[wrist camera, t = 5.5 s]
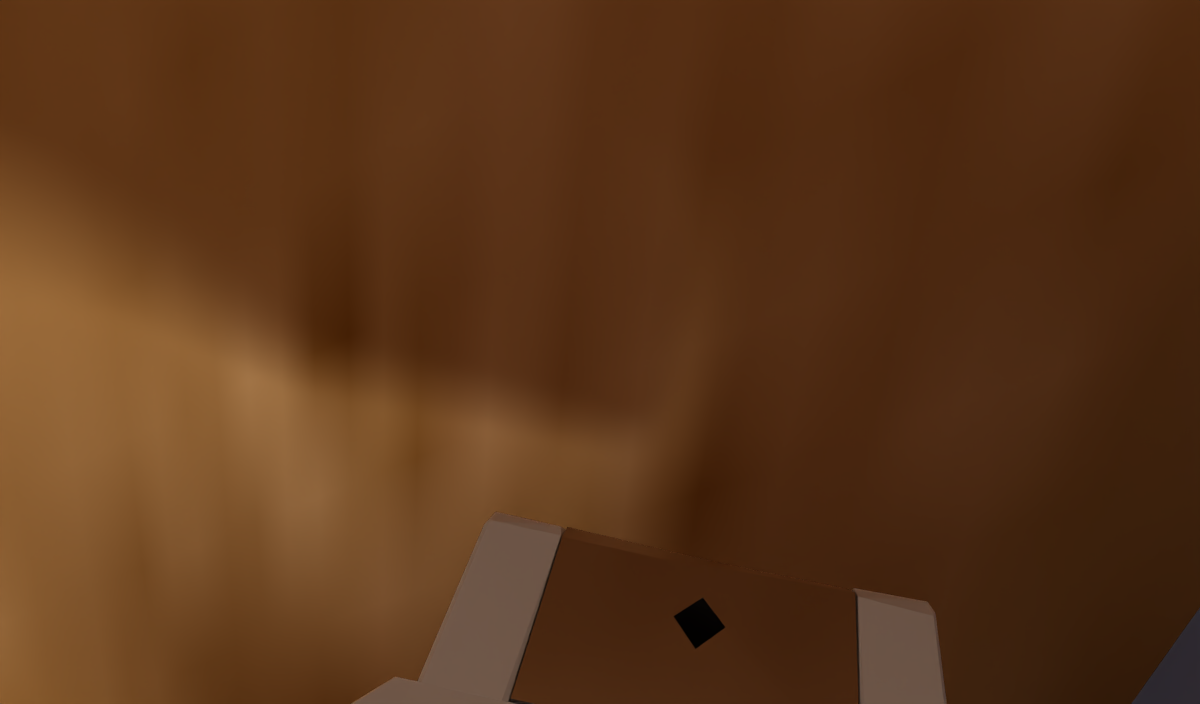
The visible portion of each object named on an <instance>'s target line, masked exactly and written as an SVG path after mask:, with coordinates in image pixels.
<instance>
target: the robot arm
mask: <svg viewBox="0 0 1200 704" xmlns="http://www.w3.org/2000/svg"><path fill="white" fill-rule="evenodd" d="M351 704H947V701H946V693H945V685H944V677H943V669H942V661H941V653H940V645H939V637H938V629H937V621H936V613H935V612H934V610H933V609H932V607H931V606H930V604H929V603H928V602H927V601H921V600H916V599H910V598H905V597H900V596H894V595H889V594H884V593H878V592H873V591H868V590H862V589H857V588H853V589H852V591H851V590H849V589H847V588H842V587H837V586H832V585H827V584H823V583H818V582H813V581H808V580H803V579H798V578H793V577H788V576H783V575H778V574H773V573H768V572H764V571H759V570H754V569H749V568H744V567H739V566H734V565H729V564H724V563H719V562H714V561H710V560H707V559H703V558H698V557H694V556H690V555H686V554H681V553H677V552H673V551H668V550H664V549H660V548H655V547H651V546H647V545H643V544H638V543H634V542H630V541H625V540H621V539H617V538H613V537H608V536H604V535H600V534H595V533H591V532H587V531H582V530H578V529H574V528H570V527H567V529H566V530H565V529H564V528H562V527H561V526H557V525H552V524H548V523H543V522H539V521H535V520H530V519H526V518H521V517H517V516H512V515H508V514H504V513H499V512H495V513H494V514H493V515H492V516H491V517H490V518H489V519H488V520H487V522H486V523H485V524H484V526H483V528H482V531H481V533H480V535H479V538H478V540H477V542H476V545H475V547H474V549H473V552H472V554H471V556H470V559H469V561H468V563H467V566H466V568H465V570H464V573H463V575H462V578H461V580H460V582H459V585H458V587H457V589H456V592H455V594H454V596H453V599H452V601H451V603H450V606H449V608H448V610H447V613H446V615H445V617H444V620H443V622H442V625H441V627H440V629H439V632H438V634H437V636H436V639H435V641H434V643H433V646H432V648H431V650H430V653H429V655H428V657H427V660H426V662H425V664H424V667H423V669H422V672H421V674H420V676H419V679H418V681H414V680H409V679H404V678H399V677H393V678H392V679H390V680H388V681H387V682H385V683H383V684H382V685H380V686H379V687H377V688H375V689H374V690H372V691H371V692H369V693H367V694H366V695H364V696H362V697H361V698H359V699H358V700H356V701H354V702H353V703H351Z"/></svg>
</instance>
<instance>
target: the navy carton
mask: <svg viewBox="0 0 1200 704" xmlns="http://www.w3.org/2000/svg"><path fill="white" fill-rule="evenodd" d="M1131 704H1200V608H1199V609H1198V611H1197V612H1196V614H1195V615H1194V616H1193V618H1192V619H1191V621H1190V622H1189V623H1188V625H1187V626H1186V628H1185V629H1184V630H1183V632H1182V633H1181V635H1180V636H1179V637H1178V639H1177V640H1176V642H1175V643H1174V644H1173V646H1172V647H1171V649H1170V650H1169V651H1168V653H1167V654H1166V656H1165V657H1164V658H1163V660H1162V661H1161V663H1160V664H1159V666H1158V667H1157V668H1156V670H1155V671H1154V673H1153V674H1152V675H1151V677H1150V678H1149V680H1148V681H1147V682H1146V684H1145V685H1144V687H1143V688H1142V689H1141V691H1140V692H1139V694H1138V695H1137V696H1136V698H1135V699H1134V701H1133V702H1132V703H1131Z"/></svg>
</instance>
